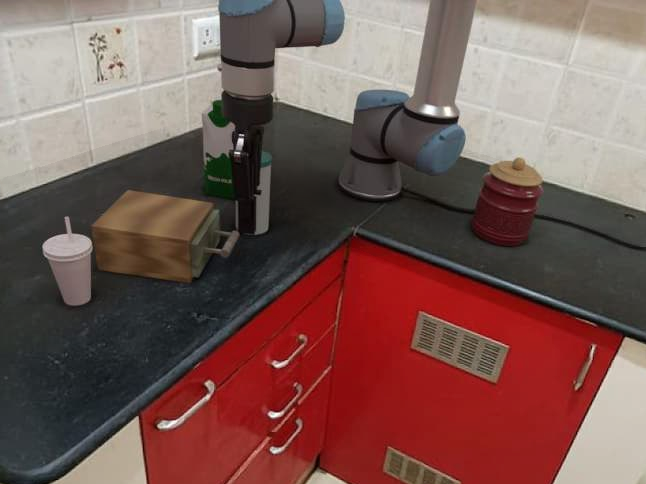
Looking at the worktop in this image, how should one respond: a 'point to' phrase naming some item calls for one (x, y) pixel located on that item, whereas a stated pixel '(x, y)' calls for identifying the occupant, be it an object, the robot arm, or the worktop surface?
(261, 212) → the container
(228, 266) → the worktop surface
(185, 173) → the worktop surface
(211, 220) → the drawer
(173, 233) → the cabinet
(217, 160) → the milk carton
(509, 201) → the kitchen canister
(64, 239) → the smoothie
